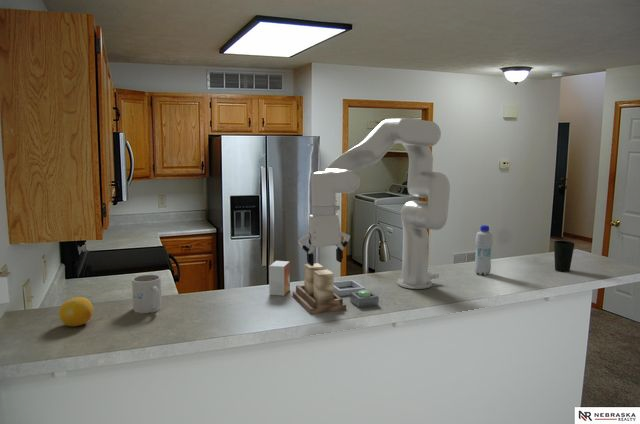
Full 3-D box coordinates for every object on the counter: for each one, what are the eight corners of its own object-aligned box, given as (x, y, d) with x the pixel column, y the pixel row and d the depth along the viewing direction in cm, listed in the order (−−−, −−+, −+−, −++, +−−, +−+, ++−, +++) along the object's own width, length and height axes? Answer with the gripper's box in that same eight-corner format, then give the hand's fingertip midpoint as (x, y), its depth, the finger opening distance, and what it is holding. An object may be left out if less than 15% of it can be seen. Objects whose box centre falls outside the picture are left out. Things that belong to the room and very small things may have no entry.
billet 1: (318, 291, 172) (318, 263, 170) (323, 295, 167) (323, 266, 166) (304, 292, 170) (304, 264, 169) (309, 297, 165) (309, 267, 164)
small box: (284, 296, 171) (284, 266, 169) (268, 295, 172) (268, 265, 171) (290, 289, 179) (290, 261, 177) (275, 288, 180) (275, 260, 178)
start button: (367, 298, 166) (367, 289, 166) (372, 302, 163) (372, 293, 162) (356, 299, 165) (356, 290, 165) (361, 303, 161) (361, 294, 161)
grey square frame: (352, 285, 184) (352, 279, 184) (364, 293, 175) (365, 287, 174) (328, 287, 181) (328, 282, 181) (339, 296, 171) (339, 290, 171)
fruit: (59, 332, 139) (57, 304, 137) (61, 322, 146) (59, 296, 145) (93, 327, 142) (91, 300, 141) (94, 318, 149) (92, 292, 148)
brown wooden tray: (324, 292, 176) (324, 282, 175) (346, 309, 158) (346, 298, 157) (292, 295, 171) (292, 286, 171) (310, 313, 154) (310, 303, 153)
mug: (130, 307, 159) (129, 276, 158) (158, 302, 164) (156, 273, 162) (139, 318, 149) (137, 286, 148) (168, 313, 154) (167, 282, 152)
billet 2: (327, 298, 164) (328, 269, 162) (333, 303, 159) (333, 273, 157) (313, 300, 162) (313, 270, 160) (318, 305, 157) (318, 274, 156)
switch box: (369, 298, 168) (369, 290, 168) (378, 305, 162) (378, 296, 161) (350, 301, 166) (350, 292, 166) (359, 307, 159) (359, 298, 159)
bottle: (476, 270, 205) (479, 223, 202) (493, 273, 202) (495, 225, 199) (471, 274, 200) (473, 225, 197) (487, 276, 196) (490, 227, 193)
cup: (576, 273, 203) (578, 244, 201) (557, 272, 203) (559, 244, 201) (567, 268, 210) (569, 240, 208) (548, 268, 210) (550, 240, 209)
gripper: (344, 206, 162) (345, 257, 165) (294, 211, 156) (296, 263, 159) (353, 210, 155) (354, 262, 158) (301, 214, 150) (303, 269, 152)
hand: (325, 263), depth 159 cm, fingers open, 9 cm apart
